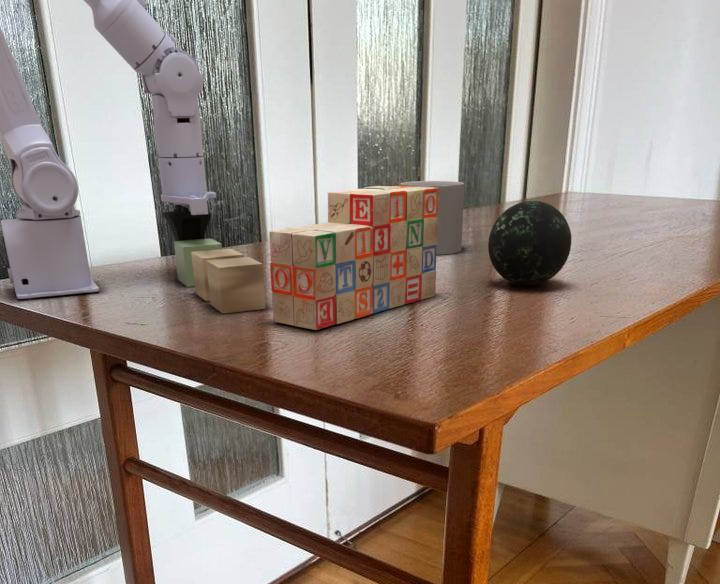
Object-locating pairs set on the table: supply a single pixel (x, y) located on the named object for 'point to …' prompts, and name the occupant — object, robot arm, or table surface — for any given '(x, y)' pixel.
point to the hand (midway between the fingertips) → (192, 266)
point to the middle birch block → (201, 268)
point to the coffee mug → (447, 213)
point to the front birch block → (236, 284)
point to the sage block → (185, 257)
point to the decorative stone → (529, 243)
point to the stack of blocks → (356, 257)
